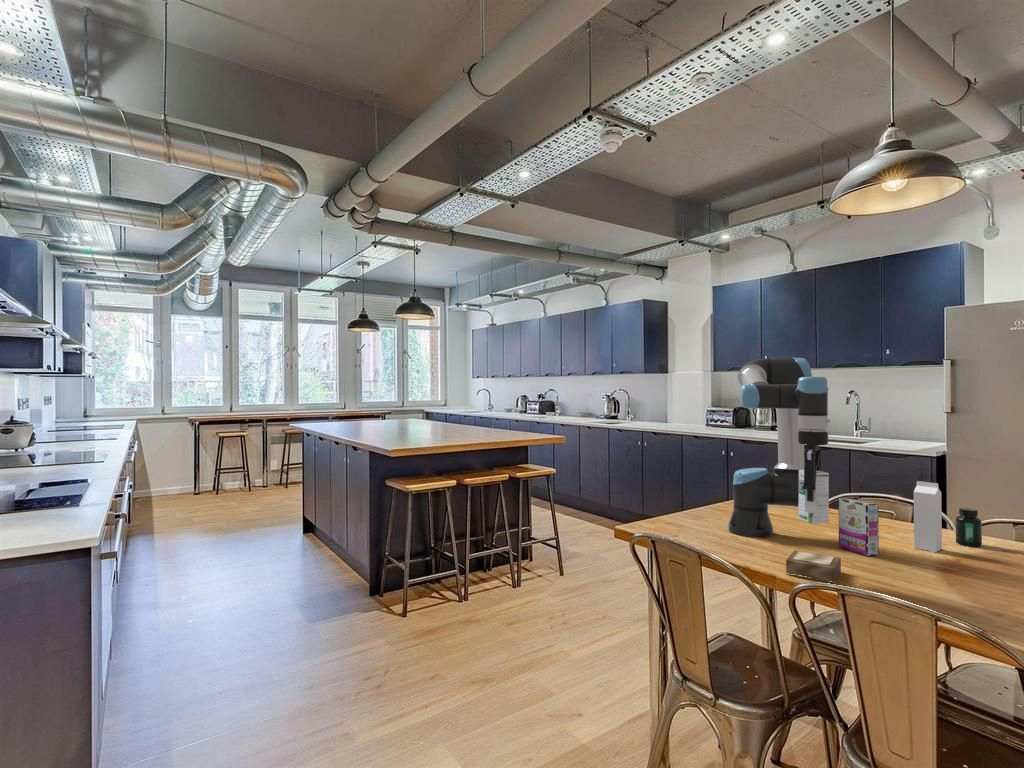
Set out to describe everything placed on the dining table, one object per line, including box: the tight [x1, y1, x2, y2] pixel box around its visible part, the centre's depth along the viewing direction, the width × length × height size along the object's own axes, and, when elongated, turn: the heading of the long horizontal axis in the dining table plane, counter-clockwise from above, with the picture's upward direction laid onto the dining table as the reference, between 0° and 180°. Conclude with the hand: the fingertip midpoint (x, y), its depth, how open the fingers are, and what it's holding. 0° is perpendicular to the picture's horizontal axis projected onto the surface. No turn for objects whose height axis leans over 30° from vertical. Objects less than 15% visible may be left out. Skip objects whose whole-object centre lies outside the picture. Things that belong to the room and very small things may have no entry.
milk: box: [913, 480, 943, 553], centre depth 179 cm, size 6×6×22 cm
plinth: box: [785, 550, 842, 582], centre depth 155 cm, size 12×12×4 cm
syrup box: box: [798, 469, 830, 525], centre depth 155 cm, size 6×6×14 cm
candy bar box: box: [838, 497, 880, 557], centre depth 176 cm, size 11×5×16 cm, turn 14°
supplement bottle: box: [955, 507, 983, 548], centre depth 184 cm, size 7×7×12 cm
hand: (813, 510), depth 155 cm, fingers closed on syrup box, 8 cm apart
